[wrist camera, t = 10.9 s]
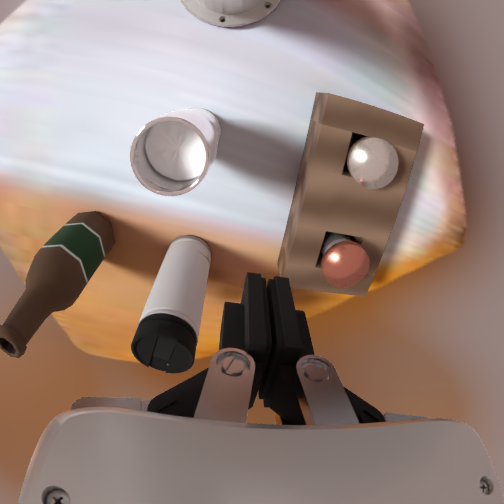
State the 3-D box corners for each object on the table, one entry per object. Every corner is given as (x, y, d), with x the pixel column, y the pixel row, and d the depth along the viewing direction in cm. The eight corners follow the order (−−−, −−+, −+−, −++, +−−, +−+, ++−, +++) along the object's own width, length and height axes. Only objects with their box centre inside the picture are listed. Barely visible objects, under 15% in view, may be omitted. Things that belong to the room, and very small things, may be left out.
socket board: (316, 92, 35) (328, 93, 29) (401, 117, 36) (423, 124, 31) (277, 262, 46) (281, 286, 41) (353, 272, 47) (365, 296, 42)
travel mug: (218, 241, 44) (203, 347, 27) (203, 278, 47) (184, 387, 30) (175, 226, 43) (134, 324, 25) (163, 264, 46) (125, 368, 28)
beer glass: (192, 93, 35) (161, 96, 21) (236, 128, 37) (231, 151, 24) (157, 136, 37) (112, 165, 24) (199, 169, 39) (176, 214, 26)
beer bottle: (120, 217, 42) (34, 334, 21) (113, 262, 46) (44, 385, 25) (73, 202, 41) (-30, 302, 20) (69, 247, 44) (-14, 356, 23)
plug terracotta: (316, 213, 41) (331, 242, 34) (355, 220, 42) (376, 249, 34) (306, 250, 44) (317, 284, 37) (343, 256, 44) (360, 289, 37)
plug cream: (336, 122, 36) (357, 132, 29) (375, 133, 37) (404, 146, 30) (326, 164, 39) (344, 183, 32) (365, 173, 40) (390, 194, 32)
